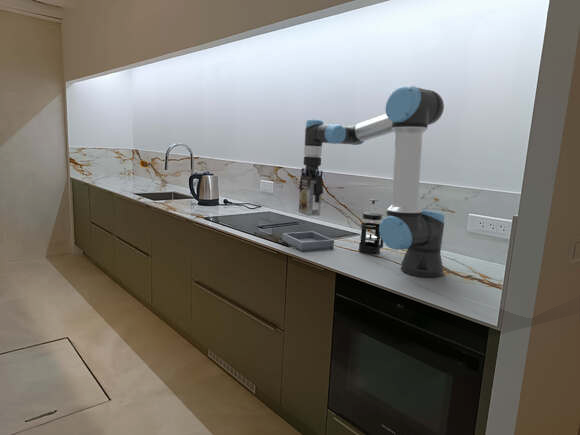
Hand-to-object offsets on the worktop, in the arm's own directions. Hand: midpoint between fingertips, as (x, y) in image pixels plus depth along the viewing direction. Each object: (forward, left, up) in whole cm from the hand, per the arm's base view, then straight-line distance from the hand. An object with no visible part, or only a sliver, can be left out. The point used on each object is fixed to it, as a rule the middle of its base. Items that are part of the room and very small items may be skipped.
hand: (309, 207), depth 180 cm
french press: (-18, -21, -17) cm, 33 cm away
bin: (0, 0, -17) cm, 17 cm away
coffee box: (0, 0, -3) cm, 3 cm away
